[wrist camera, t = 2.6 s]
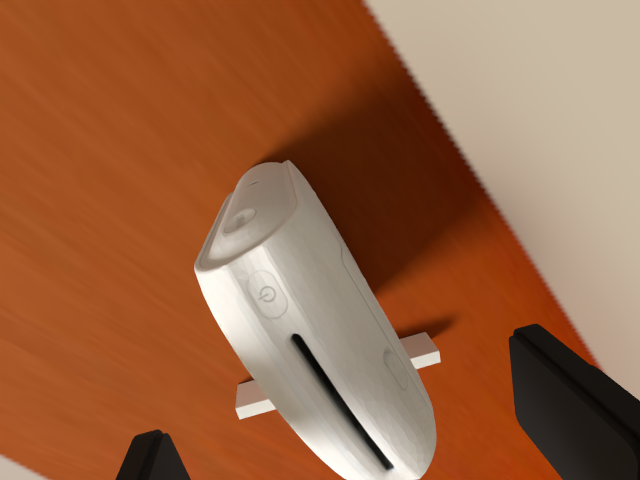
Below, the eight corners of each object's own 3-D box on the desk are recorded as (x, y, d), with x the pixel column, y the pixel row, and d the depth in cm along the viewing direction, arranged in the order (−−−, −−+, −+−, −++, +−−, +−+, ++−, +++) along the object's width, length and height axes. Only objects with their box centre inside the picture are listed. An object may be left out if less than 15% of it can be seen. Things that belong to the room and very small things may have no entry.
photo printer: (214, 186, 20) (141, 304, 8) (287, 142, 20) (318, 201, 8) (314, 332, 23) (361, 558, 12) (377, 297, 23) (488, 493, 12)
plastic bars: (237, 384, 24) (233, 422, 21) (425, 331, 24) (446, 361, 22) (305, 557, 30) (308, 605, 27) (455, 512, 30) (474, 554, 27)
